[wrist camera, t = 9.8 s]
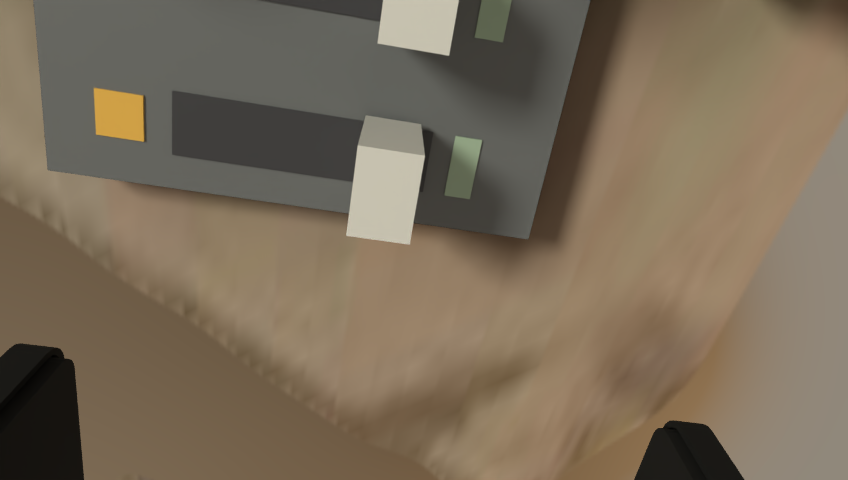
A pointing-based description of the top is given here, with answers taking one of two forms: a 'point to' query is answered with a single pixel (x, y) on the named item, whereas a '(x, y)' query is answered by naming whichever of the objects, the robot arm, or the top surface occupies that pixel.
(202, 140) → the breaker panel
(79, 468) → the robot arm
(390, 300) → the top surface
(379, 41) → the block
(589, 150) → the top surface
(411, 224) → the block
